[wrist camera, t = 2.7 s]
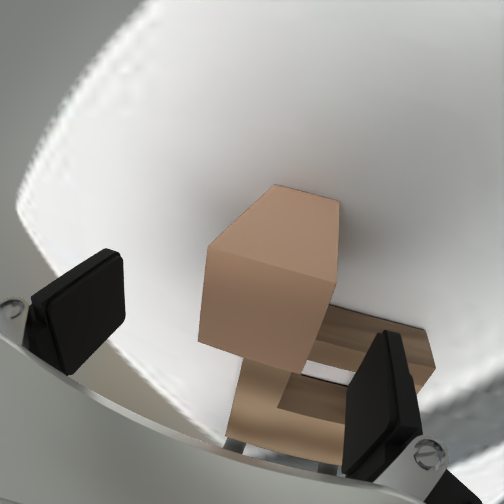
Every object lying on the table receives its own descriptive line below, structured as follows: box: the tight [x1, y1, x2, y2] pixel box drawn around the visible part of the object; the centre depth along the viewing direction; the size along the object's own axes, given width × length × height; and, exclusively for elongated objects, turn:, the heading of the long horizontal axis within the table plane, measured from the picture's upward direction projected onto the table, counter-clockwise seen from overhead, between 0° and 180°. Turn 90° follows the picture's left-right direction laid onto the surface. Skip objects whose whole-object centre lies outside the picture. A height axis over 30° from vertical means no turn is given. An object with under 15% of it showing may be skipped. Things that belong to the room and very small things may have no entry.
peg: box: [198, 185, 340, 375], centre depth 14 cm, size 4×4×10 cm
